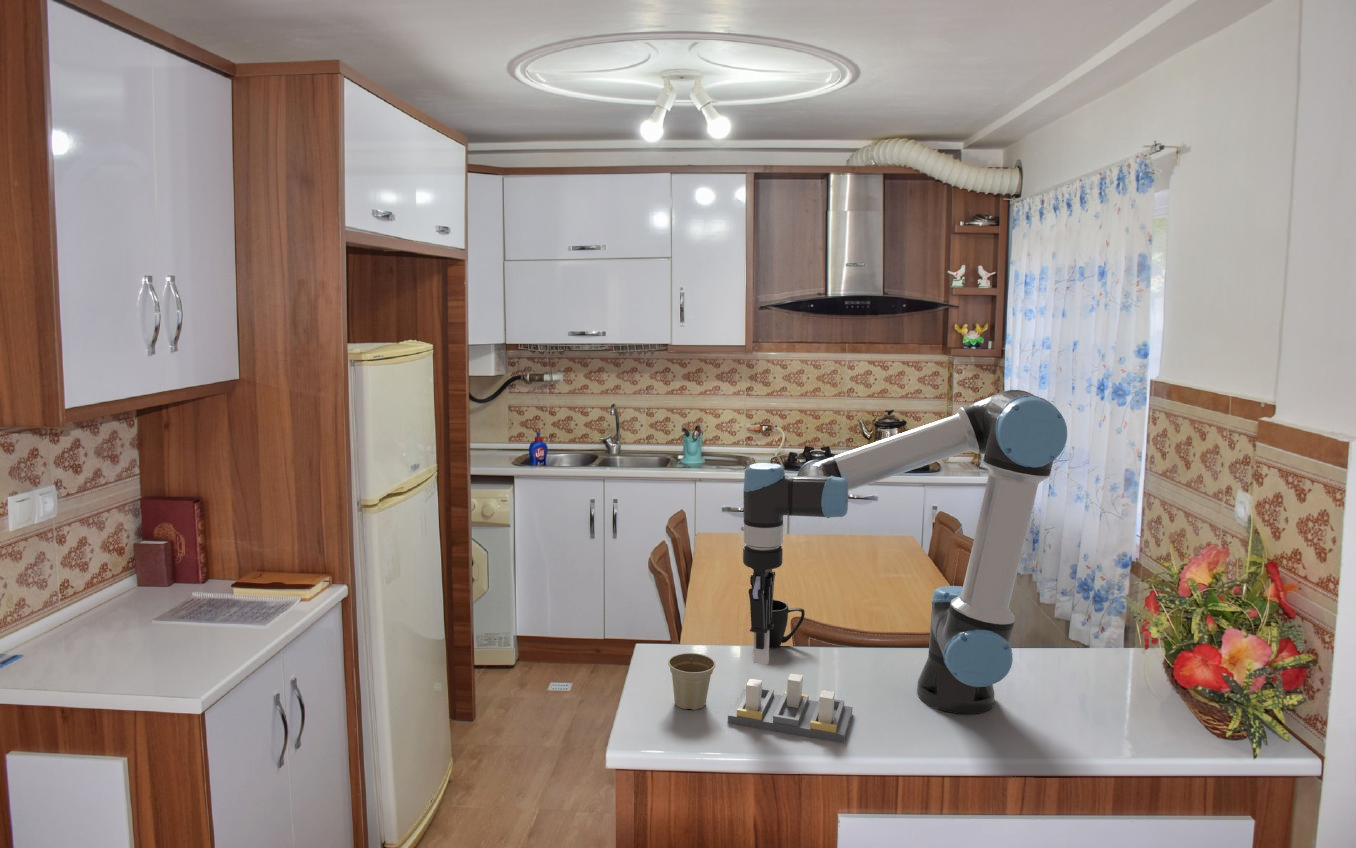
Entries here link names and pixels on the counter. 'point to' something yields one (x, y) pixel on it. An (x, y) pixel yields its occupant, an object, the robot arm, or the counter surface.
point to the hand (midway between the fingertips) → (761, 662)
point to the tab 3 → (826, 707)
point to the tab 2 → (794, 690)
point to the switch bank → (792, 716)
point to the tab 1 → (753, 694)
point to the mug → (781, 623)
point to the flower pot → (691, 679)
